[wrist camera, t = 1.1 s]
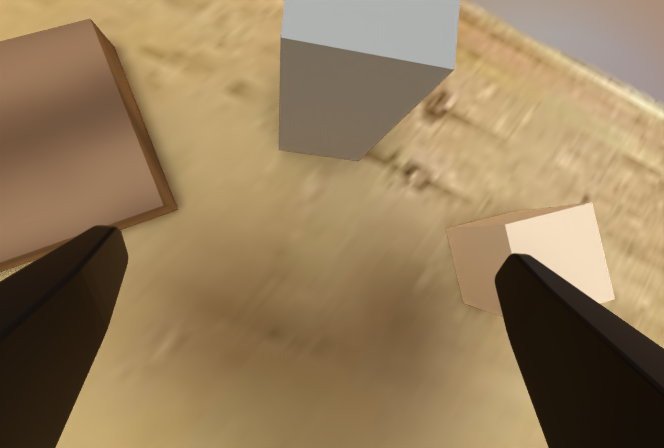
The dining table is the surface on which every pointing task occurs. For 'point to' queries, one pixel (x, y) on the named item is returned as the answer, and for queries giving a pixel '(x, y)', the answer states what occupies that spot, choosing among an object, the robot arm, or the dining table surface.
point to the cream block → (530, 251)
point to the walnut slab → (70, 143)
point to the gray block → (358, 69)
